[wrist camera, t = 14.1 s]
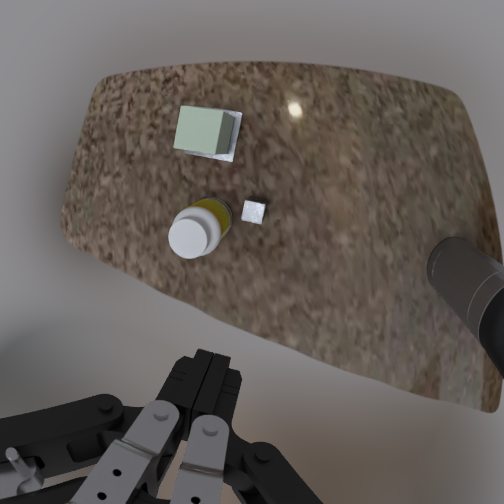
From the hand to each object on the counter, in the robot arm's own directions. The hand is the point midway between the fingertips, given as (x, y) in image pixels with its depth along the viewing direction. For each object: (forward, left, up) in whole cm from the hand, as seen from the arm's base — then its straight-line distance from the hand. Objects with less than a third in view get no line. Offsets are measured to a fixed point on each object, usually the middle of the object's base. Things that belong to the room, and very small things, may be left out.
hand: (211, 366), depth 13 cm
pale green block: (+10, -10, -31) cm, 34 cm away
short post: (+2, -1, -32) cm, 32 cm away
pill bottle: (+8, +2, -32) cm, 33 cm away
